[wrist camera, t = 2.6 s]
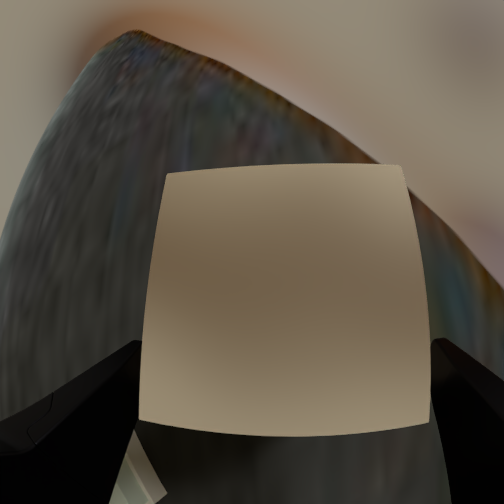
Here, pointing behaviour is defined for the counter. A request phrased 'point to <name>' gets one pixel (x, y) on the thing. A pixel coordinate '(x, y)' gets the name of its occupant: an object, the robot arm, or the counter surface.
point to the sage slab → (127, 488)
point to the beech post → (286, 303)
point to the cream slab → (144, 471)
